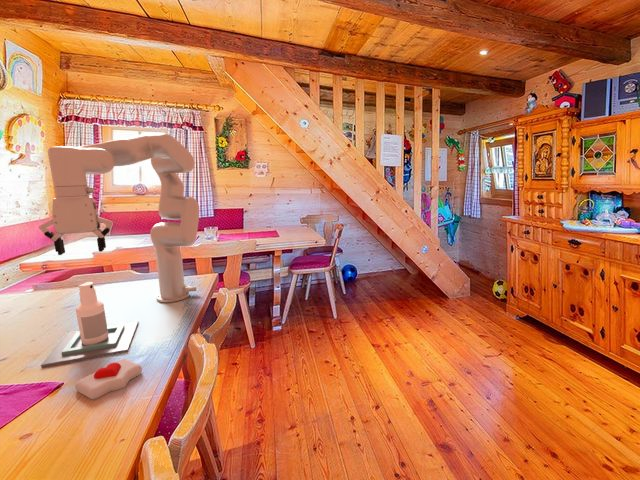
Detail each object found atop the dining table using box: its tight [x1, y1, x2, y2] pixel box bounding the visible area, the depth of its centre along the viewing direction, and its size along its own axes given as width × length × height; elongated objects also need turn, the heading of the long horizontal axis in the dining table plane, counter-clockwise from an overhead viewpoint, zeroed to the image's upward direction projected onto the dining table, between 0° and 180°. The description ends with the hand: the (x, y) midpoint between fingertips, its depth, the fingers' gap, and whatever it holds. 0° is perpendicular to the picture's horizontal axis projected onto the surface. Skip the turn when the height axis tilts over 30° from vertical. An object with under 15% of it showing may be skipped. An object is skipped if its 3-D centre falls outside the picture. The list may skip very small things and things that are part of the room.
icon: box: [74, 358, 143, 400], centre depth 78 cm, size 12×4×10 cm
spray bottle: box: [75, 281, 108, 345], centre depth 95 cm, size 7×7×18 cm
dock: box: [40, 320, 139, 368], centre depth 97 cm, size 20×20×2 cm
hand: (82, 252), depth 92 cm, fingers open, 9 cm apart
